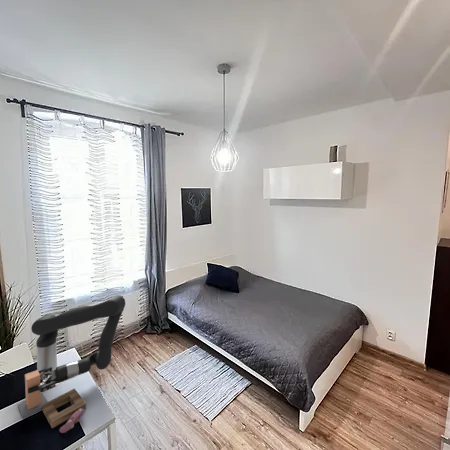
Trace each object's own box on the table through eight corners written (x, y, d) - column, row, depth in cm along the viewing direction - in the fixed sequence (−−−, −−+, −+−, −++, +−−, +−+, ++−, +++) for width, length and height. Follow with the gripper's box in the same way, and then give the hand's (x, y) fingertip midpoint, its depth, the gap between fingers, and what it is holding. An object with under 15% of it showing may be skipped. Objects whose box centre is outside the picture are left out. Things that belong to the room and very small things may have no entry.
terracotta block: (26, 403, 122) (24, 374, 120) (38, 397, 126) (37, 369, 124) (28, 409, 118) (27, 380, 117) (41, 403, 122) (40, 374, 121)
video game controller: (65, 438, 108) (71, 426, 107) (57, 432, 109) (63, 420, 107) (82, 419, 118) (88, 408, 117) (75, 413, 118) (80, 402, 117)
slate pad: (17, 406, 121) (17, 404, 121) (42, 394, 129) (42, 392, 129) (23, 418, 115) (23, 416, 115) (48, 405, 123) (48, 403, 122)
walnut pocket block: (42, 410, 120) (41, 404, 119) (74, 393, 130) (74, 388, 130) (52, 428, 111) (51, 422, 110) (85, 409, 121) (85, 403, 121)
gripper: (64, 357, 135) (26, 370, 124) (69, 372, 124) (27, 387, 114) (65, 370, 136) (27, 384, 125) (70, 386, 125) (28, 402, 114)
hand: (27, 385), depth 119 cm, fingers open, 8 cm apart
